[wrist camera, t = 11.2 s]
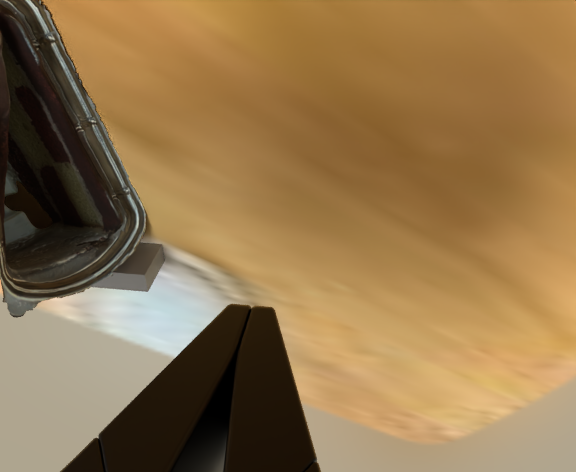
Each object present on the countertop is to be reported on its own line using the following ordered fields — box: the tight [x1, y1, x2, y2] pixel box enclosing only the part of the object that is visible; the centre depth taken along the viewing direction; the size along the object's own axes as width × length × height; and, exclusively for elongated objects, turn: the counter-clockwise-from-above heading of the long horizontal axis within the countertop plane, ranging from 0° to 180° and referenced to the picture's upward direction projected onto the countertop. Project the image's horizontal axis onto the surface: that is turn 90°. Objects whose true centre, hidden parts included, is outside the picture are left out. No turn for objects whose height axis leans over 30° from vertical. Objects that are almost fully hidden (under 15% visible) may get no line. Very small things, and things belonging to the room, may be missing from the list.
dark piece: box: [0, 0, 146, 317], centre depth 21 cm, size 10×7×12 cm
